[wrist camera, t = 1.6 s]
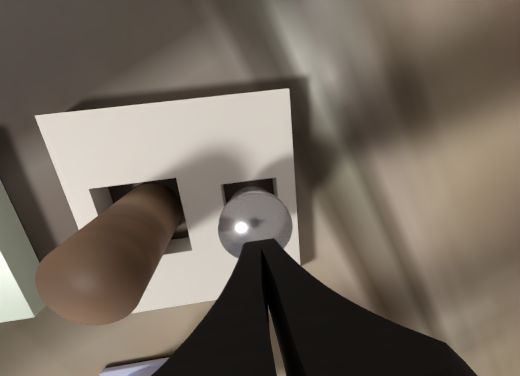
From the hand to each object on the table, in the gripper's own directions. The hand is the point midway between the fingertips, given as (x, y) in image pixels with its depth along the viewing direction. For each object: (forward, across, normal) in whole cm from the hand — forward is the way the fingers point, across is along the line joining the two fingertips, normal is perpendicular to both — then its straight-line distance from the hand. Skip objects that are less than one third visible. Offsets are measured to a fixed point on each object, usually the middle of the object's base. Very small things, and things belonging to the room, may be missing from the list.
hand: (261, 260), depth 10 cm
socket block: (+8, +4, 0) cm, 9 cm away
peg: (+8, +7, 0) cm, 11 cm away
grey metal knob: (+6, 0, 0) cm, 6 cm away
